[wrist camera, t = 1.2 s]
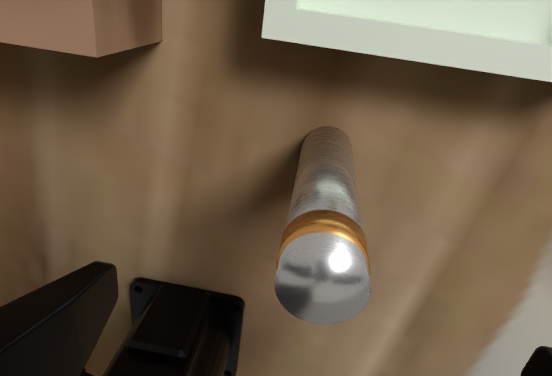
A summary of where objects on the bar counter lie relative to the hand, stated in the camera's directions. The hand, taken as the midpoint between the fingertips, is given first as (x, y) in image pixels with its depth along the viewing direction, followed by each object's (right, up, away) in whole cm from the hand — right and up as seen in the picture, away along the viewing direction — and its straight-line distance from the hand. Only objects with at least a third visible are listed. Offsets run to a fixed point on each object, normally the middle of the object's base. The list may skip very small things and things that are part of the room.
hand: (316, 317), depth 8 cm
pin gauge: (+1, +4, +9) cm, 10 cm away
